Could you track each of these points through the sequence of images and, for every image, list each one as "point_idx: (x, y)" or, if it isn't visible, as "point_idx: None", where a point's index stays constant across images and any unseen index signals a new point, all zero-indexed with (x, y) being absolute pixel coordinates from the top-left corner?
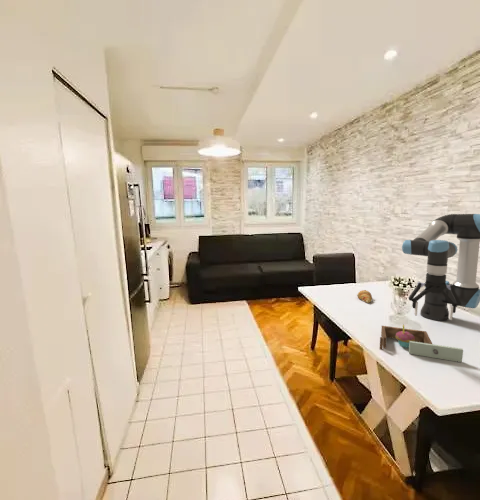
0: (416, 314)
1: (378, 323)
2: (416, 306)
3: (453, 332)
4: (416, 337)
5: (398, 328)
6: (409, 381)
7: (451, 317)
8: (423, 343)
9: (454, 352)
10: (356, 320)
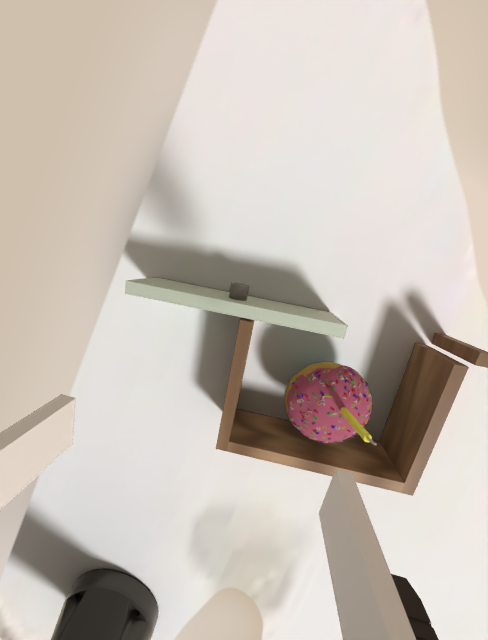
0: (344, 480)
1: None
2: (394, 605)
3: (98, 492)
4: (258, 426)
5: (337, 468)
6: (435, 68)
7: (43, 410)
8: (283, 319)
9: (165, 284)
10: (440, 574)
